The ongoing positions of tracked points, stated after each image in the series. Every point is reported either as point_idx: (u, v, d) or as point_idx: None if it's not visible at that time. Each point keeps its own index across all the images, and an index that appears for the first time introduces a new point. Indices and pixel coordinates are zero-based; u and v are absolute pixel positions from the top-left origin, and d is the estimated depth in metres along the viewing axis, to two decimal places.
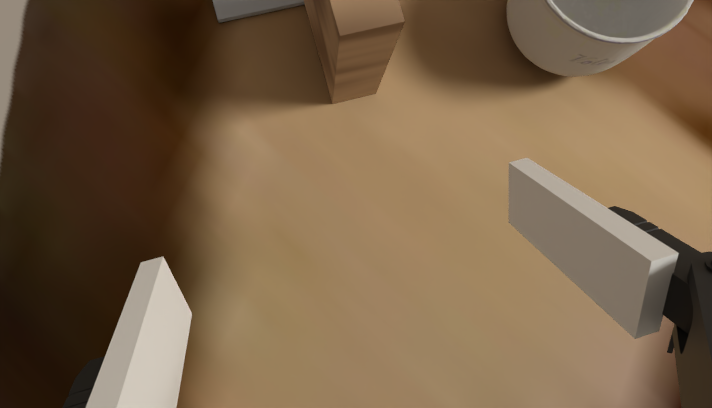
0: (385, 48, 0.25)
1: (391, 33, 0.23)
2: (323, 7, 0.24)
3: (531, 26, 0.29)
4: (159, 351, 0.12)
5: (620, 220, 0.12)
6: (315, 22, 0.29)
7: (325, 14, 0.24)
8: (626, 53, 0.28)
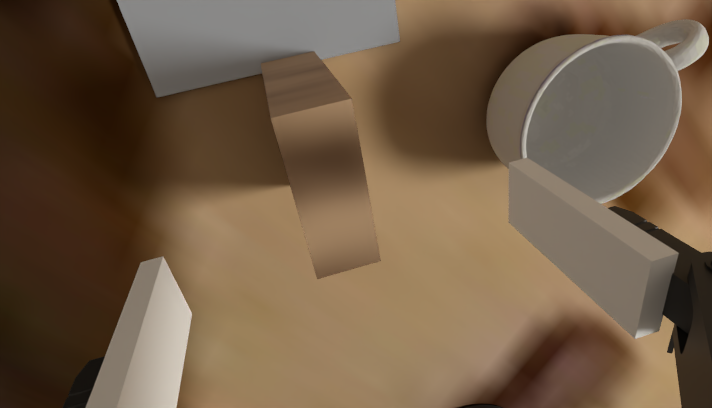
0: None
1: None
2: None
3: (505, 155, 0.29)
4: (159, 351, 0.12)
5: (620, 220, 0.12)
6: None
7: None
8: None
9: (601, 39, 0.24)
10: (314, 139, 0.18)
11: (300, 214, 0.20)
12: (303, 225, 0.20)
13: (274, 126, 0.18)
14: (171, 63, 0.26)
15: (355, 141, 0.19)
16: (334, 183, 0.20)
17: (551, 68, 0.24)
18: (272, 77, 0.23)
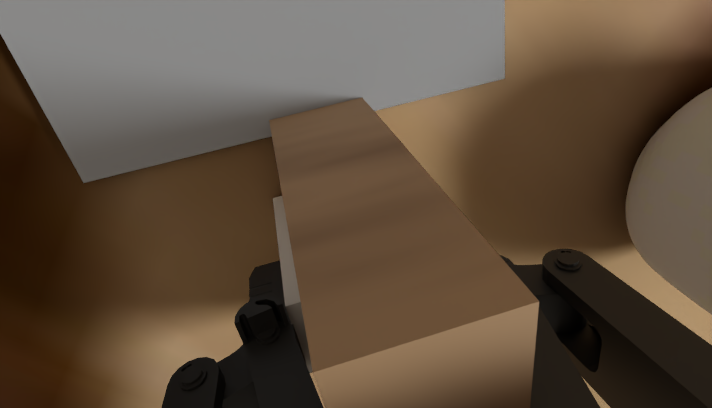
0: None
1: None
2: None
3: (675, 267, 0.17)
4: None
5: None
6: None
7: None
8: None
9: None
10: (424, 395, 0.07)
11: None
12: None
13: (322, 388, 0.06)
14: (106, 125, 0.14)
15: (523, 383, 0.07)
16: None
17: None
18: (295, 166, 0.12)
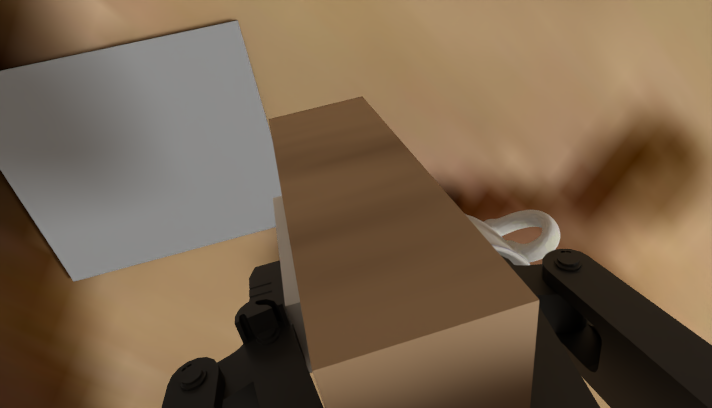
0: None
1: None
2: None
3: None
4: None
5: None
6: None
7: None
8: None
9: None
10: (424, 394, 0.07)
11: None
12: None
13: (321, 386, 0.06)
14: (84, 255, 0.29)
15: (523, 383, 0.07)
16: None
17: None
18: (295, 165, 0.12)
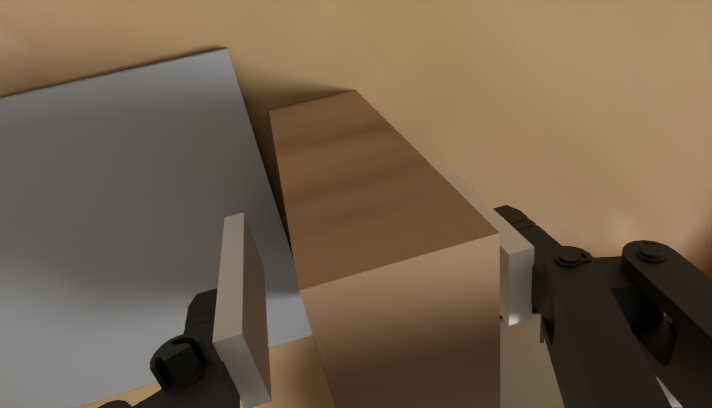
0: None
1: None
2: None
3: None
4: (254, 288, 0.14)
5: (497, 218, 0.13)
6: None
7: None
8: None
9: None
10: (400, 322, 0.08)
11: None
12: None
13: (307, 307, 0.07)
14: None
15: (491, 318, 0.08)
16: (433, 397, 0.09)
17: None
18: (291, 144, 0.13)
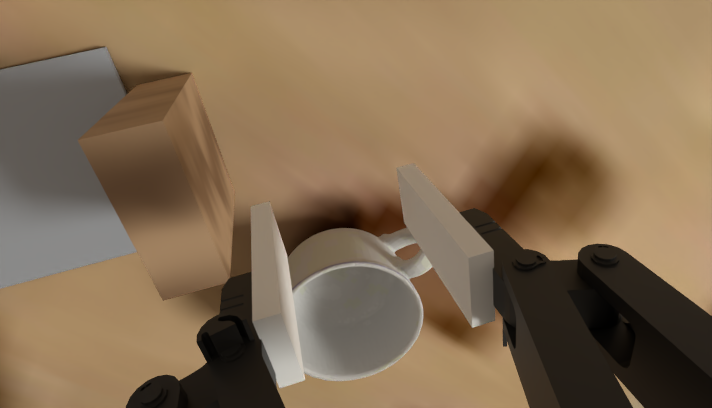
0: None
1: None
2: None
3: None
4: (283, 273, 0.14)
5: (461, 221, 0.13)
6: None
7: None
8: None
9: (329, 267, 0.28)
10: (129, 160, 0.18)
11: (130, 235, 0.20)
12: (136, 246, 0.20)
13: (83, 148, 0.18)
14: None
15: (175, 162, 0.19)
16: (161, 204, 0.20)
17: (293, 286, 0.29)
18: (128, 98, 0.23)
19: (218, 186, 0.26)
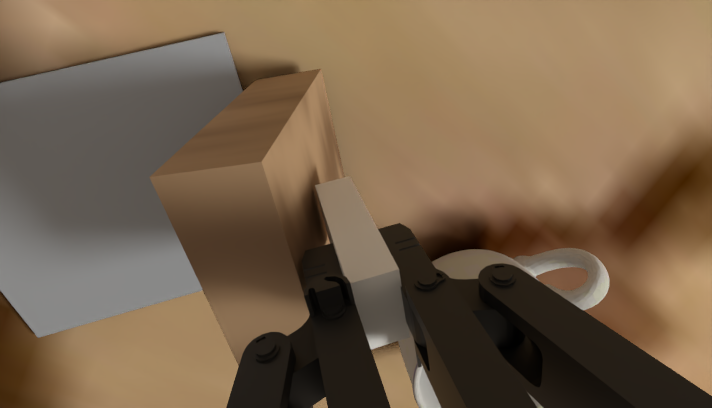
0: None
1: None
2: None
3: None
4: None
5: (377, 238, 0.13)
6: None
7: None
8: None
9: None
10: (213, 210, 0.13)
11: (209, 299, 0.15)
12: (215, 312, 0.15)
13: (156, 188, 0.13)
14: (49, 308, 0.25)
15: (274, 220, 0.13)
16: (251, 269, 0.14)
17: None
18: (237, 104, 0.18)
19: None
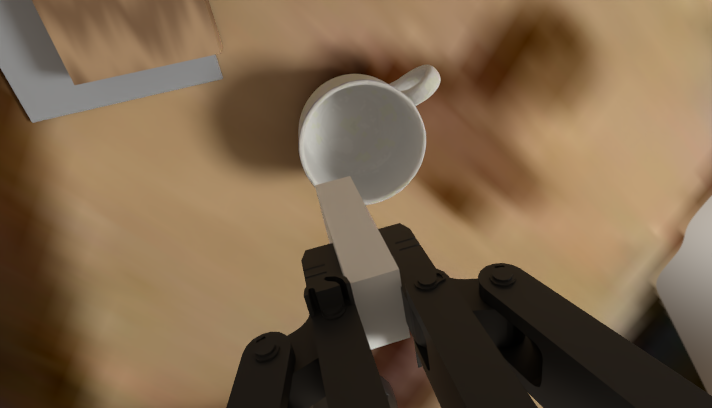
0: None
1: None
2: None
3: None
4: None
5: (377, 238, 0.13)
6: None
7: None
8: None
9: (345, 83, 0.33)
10: None
11: None
12: None
13: None
14: (40, 97, 0.35)
15: None
16: None
17: (314, 103, 0.33)
18: None
19: (140, 27, 0.31)
